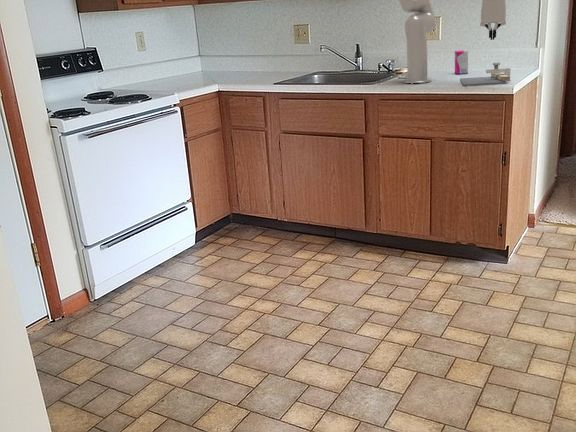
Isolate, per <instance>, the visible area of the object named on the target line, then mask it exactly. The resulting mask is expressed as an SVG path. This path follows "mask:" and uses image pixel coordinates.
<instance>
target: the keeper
mask: <svg viewBox="0 0 576 432" xmlns="http://www.w3.org/2000/svg"><path fill="white" fill-rule="evenodd" d="M485 72H486V74H491V73H502V74H505V75H507V76H510V77H511V68H509V67H507V68H498V69H494V68H492V69H491V68H490V69H489V68H488V69H486V71H485Z"/></svg>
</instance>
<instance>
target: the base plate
mask: <svg viewBox="0 0 576 432" xmlns="http://www.w3.org/2000/svg"><path fill="white" fill-rule="evenodd" d="M459 80H460V84H462V86H463V87H472V86H473V87H474V86H489V85H491V86H493V85H507V81H501V80H499V79H497V78H494V77H491V76H477V77H462V78H459Z"/></svg>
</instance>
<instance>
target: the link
mask: <svg viewBox="0 0 576 432" xmlns="http://www.w3.org/2000/svg"><path fill="white" fill-rule="evenodd" d="M500 65H501V62H492V66H493V69H499V66H500ZM490 77H494V78H497V79H499V80H501V81H506V82H510V81H511V75H510V76H507V75H505V74H504V73H503V72H502V73H490Z"/></svg>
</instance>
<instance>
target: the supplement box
mask: <svg viewBox="0 0 576 432" xmlns="http://www.w3.org/2000/svg"><path fill="white" fill-rule="evenodd" d="M468 55H469V50H467V49H463V50H454V74H455V75H456V76H457V75H468V74H469V56H468Z"/></svg>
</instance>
